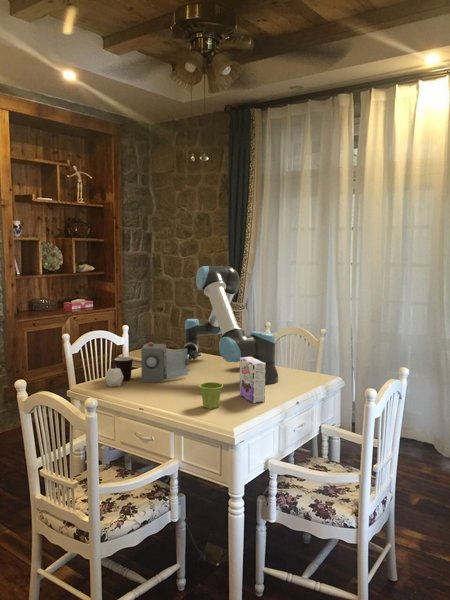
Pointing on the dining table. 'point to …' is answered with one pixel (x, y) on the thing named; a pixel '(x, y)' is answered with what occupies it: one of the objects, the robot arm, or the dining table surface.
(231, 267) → the robot arm
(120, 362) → the coffee mug
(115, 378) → the die
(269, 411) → the dining table surface
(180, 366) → the side door
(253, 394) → the candy box
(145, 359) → the grey inset panel box
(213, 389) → the plant pot
